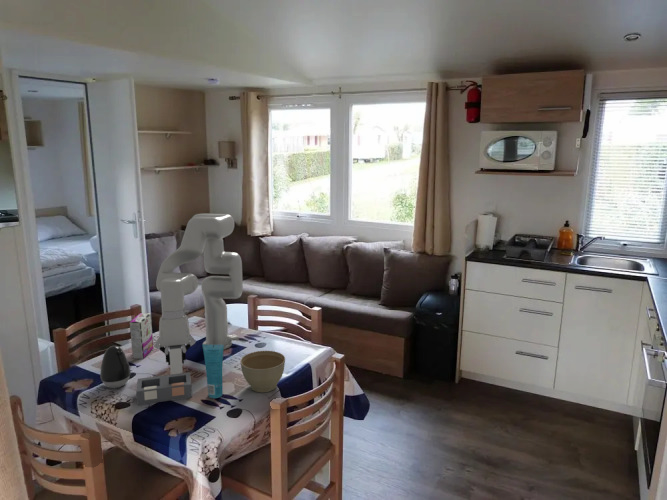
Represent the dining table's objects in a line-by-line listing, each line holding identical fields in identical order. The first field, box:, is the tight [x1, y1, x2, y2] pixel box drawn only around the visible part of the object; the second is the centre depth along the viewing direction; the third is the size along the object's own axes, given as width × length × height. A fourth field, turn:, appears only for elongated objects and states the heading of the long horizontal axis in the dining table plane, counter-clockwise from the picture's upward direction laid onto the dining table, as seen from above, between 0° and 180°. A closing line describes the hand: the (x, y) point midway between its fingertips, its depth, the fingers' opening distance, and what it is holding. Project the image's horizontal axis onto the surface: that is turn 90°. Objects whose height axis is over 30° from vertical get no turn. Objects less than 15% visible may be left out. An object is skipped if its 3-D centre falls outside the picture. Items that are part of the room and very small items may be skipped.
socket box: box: [135, 371, 193, 406], centre depth 175 cm, size 18×10×5 cm, turn 108°
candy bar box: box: [128, 312, 155, 360], centre depth 209 cm, size 11×5×16 cm, turn 179°
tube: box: [202, 343, 225, 399], centre depth 174 cm, size 7×5×19 cm, turn 96°
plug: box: [169, 345, 184, 375], centre depth 174 cm, size 4×4×10 cm
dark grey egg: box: [100, 345, 131, 389], centre depth 181 cm, size 10×10×15 cm
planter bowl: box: [240, 350, 286, 393], centre depth 181 cm, size 16×16×11 cm
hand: (176, 362), depth 175 cm, fingers closed on plug, 4 cm apart
